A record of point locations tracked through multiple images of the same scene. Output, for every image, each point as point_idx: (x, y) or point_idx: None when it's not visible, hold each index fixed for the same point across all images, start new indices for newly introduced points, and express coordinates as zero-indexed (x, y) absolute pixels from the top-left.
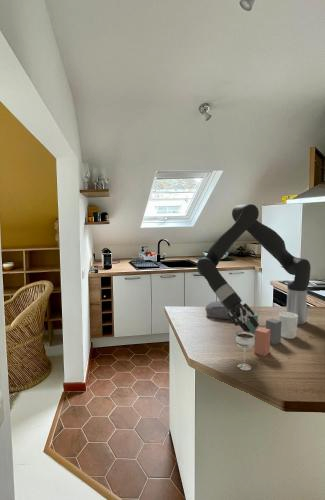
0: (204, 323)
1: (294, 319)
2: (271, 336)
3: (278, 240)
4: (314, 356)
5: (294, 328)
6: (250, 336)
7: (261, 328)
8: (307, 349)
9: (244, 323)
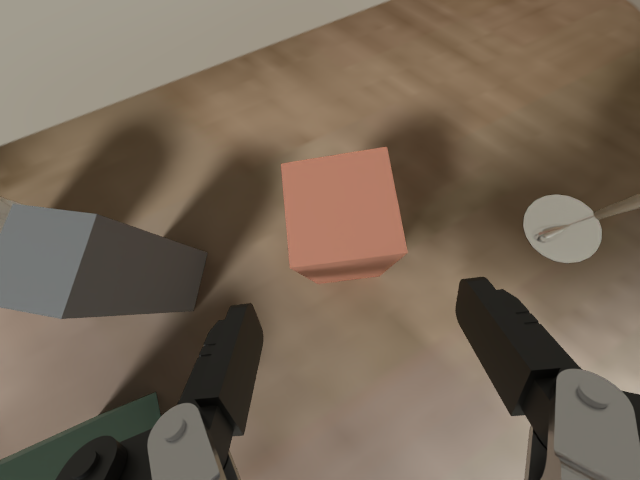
0: None
1: None
2: (177, 266)
3: None
4: (213, 85)
5: (5, 198)
6: None
7: (315, 231)
8: (161, 129)
9: (549, 360)
